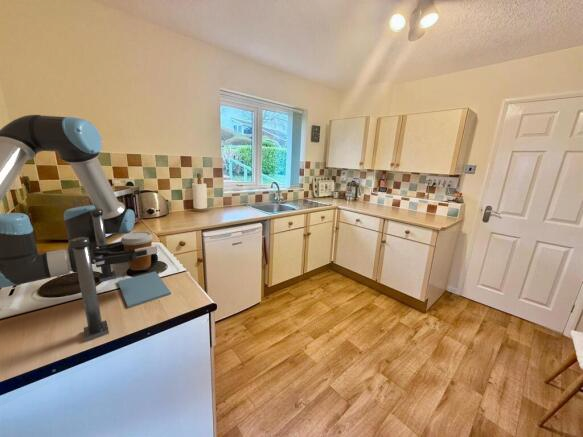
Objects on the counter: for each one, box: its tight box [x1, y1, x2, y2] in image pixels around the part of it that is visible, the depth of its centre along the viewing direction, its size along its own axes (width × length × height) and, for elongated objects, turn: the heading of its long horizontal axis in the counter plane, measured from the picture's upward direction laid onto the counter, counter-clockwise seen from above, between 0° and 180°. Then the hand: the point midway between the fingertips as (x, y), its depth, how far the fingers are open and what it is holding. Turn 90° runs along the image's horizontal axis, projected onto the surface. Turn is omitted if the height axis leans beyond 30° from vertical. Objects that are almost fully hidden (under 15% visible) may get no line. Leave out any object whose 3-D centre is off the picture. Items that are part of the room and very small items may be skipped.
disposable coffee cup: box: [120, 230, 154, 271], centre depth 84 cm, size 10×10×12 cm
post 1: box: [70, 237, 110, 343], centre depth 62 cm, size 5×5×28 cm
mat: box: [117, 271, 172, 309], centre depth 88 cm, size 20×13×1 cm, turn 43°
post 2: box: [90, 209, 117, 283], centre depth 90 cm, size 5×5×28 cm
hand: (153, 245), depth 87 cm, fingers closed on disposable coffee cup, 8 cm apart
